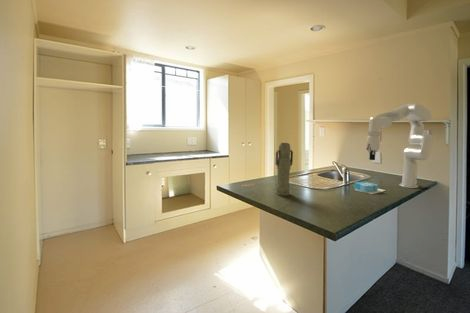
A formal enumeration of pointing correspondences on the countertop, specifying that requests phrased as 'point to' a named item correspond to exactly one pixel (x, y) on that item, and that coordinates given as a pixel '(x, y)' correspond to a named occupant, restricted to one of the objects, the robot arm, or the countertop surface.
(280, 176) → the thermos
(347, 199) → the countertop surface
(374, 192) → the mat
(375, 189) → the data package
